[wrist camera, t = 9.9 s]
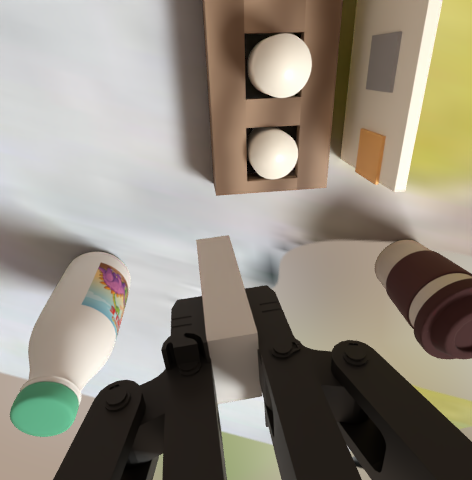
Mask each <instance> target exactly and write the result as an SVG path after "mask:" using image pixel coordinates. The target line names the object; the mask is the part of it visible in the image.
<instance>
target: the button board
mask: <svg viewBox="0 0 472 480" xmlns="http://www.w3.org/2000/svg"><path fill="white" fill-rule="evenodd" d="M202 3H203V19H204V35H205V51H206V67H207V83H208V99H209V115H210V131H211V147H212V163H213V179H214V187H215V192H216V196H217V195H231V194H245V193H259V192H272V191H286V190H300V189H314V188H326V186H327V174H328V163H329V152H330V141H331V129H332V118H333V107H334V96H335V84H336V73H337V62H338V50H339V39H340V28H341V17H342V5H343V0H202ZM268 33H301V40H302V41H303V42H304V43H305V44H306V45H307V47H308V49H309V51H310V54H311V60H312V67H311V73H310V76H309V79H308V81H307V83H306V84H305V86H304V87H303V88H302V89H301V90H300V91H299V93H298V96H291V97H287V98H277V97H269V98H247V99H246V92H245V36H244V34H268ZM294 125H297V137H296V145H297V148H298V159H297V162H296V164H295V170H291V172H290V173H288V174H287V175H286V176H284V177H282V178H279V179H267V178H264V177H262V176H260V175H259V174H258V173H247V148H246V128H257V127H276V126H294Z"/></svg>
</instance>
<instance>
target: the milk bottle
mask: <svg viewBox="0 0 472 480" xmlns="http://www.w3.org/2000/svg"><path fill="white" fill-rule="evenodd" d="M130 284H131V277H130V273H129V271H128V269H127V267H126V266H125V264H124V263H123V262H122V261H121V260H120V259H119V258H117V257H115V256H114V255H111V254H109V253H104V252H89V253H85V254H82V255H80V256H78V257H76V258H75V259H74V260H73V261H72V262H71V263H70V265H69V266H68V267H67V269H66V271H65V272H64V274H63V276H62V277H61V279H60V281H59V282H58V284H57V286H56V288H55V289H54V291H53V293H52V294H51V296H50V298H49V300H48V301H47V303H46V305H45V307H44V308H43V310H42V312H41V314H40V316H39V318H38V320H37V322H36V324H35V326H34V328H33V331H32V334H31V337H30V341H29V349H28V354H29V364H30V374H29V380H28V381H27V382H26V383H25V384H24V385H23V386H22V387H21V390H20V393H19V394H18V395H17V397H16V399H15V401H14V403H13V406H12V407H11V412H10V419H11V421H12V423H13V424H14V426H15V427H16V428H18V429H19V430H21V431H22V432H24V433H27V434H29V435H33V436H40V437H47V436H53V435H57V434H60V433H62V432H64V431H66V430H67V429H68V428H69V427H70V426H71V425H72V423H73V422H74V420H75V417H76V414H77V411H78V407H79V404H80V402H81V391H82V389H83V388H84V386H85V385H86V384H87V382H88V381H89V380H90V379H91V378H92V377H93V376H95V375H96V374H97V373H98V372H99V370H100V369H101V368H102V367H103V366H104V364H105V363H106V361H107V360H108V358H109V356H110V354H111V352H112V350H113V347H114V344H115V341H116V338H117V335H118V331H119V328H120V324H121V320H122V317H123V313H124V309H125V305H126V301H127V297H128V293H129V289H130Z"/></svg>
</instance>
